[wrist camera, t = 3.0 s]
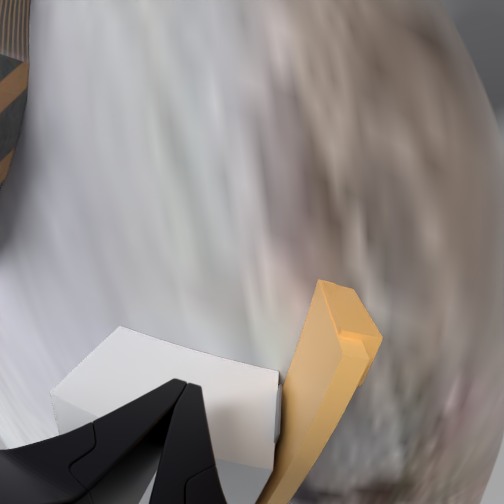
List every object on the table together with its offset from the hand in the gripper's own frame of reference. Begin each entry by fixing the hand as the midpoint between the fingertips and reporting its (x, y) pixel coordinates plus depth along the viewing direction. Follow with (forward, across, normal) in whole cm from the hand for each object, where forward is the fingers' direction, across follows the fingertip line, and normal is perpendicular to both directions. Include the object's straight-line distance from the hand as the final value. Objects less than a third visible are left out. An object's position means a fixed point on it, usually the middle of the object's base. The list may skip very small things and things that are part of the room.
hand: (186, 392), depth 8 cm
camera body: (+5, +1, +7) cm, 9 cm away
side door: (+5, -4, +4) cm, 8 cm away
